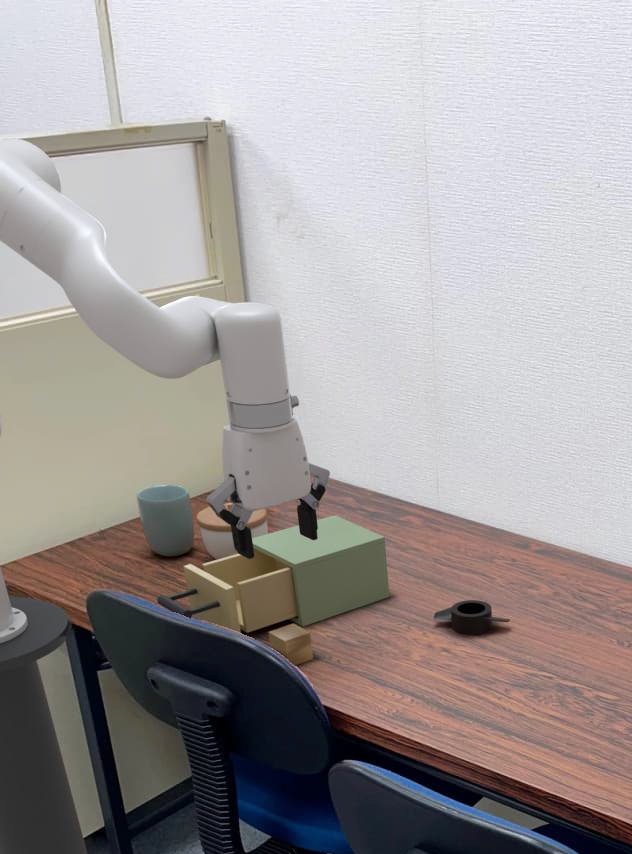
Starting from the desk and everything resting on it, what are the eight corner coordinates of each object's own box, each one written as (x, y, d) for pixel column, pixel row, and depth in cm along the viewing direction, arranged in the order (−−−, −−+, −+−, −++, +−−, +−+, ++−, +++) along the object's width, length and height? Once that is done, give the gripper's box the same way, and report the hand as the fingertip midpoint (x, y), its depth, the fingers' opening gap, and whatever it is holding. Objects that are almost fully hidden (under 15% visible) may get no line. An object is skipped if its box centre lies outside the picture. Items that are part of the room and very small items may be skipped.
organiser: (302, 626, 171) (294, 564, 166) (254, 600, 179) (245, 539, 174) (389, 596, 181) (384, 536, 176) (341, 573, 188) (334, 514, 183)
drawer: (197, 654, 161) (187, 601, 157) (155, 628, 168) (145, 576, 164) (322, 612, 174) (316, 561, 170) (278, 589, 180) (272, 540, 176)
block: (288, 668, 161) (284, 641, 158) (272, 658, 163) (268, 631, 161) (313, 658, 163) (310, 632, 161) (297, 649, 165) (293, 623, 163)
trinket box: (273, 545, 197) (265, 490, 192) (272, 570, 189) (264, 513, 184) (206, 549, 195) (196, 494, 190) (202, 574, 187) (192, 517, 182)
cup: (171, 564, 190) (159, 504, 184) (137, 554, 193) (125, 494, 188) (208, 550, 195) (198, 490, 190) (175, 540, 199) (164, 481, 193)
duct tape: (467, 609, 178) (466, 590, 176) (515, 628, 172) (515, 610, 171) (429, 624, 173) (427, 606, 171) (477, 645, 167) (476, 626, 166)
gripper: (303, 394, 152) (317, 522, 162) (179, 419, 142) (202, 555, 151) (337, 406, 148) (350, 537, 157) (212, 432, 137) (234, 572, 147)
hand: (277, 546), depth 154 cm, fingers open, 9 cm apart
